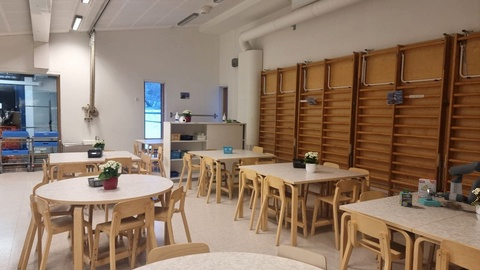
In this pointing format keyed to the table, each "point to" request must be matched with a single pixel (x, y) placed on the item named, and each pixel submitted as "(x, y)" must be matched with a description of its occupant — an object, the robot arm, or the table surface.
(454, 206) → the frame
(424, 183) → the cracker box
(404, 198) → the chalk box
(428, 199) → the peg
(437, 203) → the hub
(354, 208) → the table surface
